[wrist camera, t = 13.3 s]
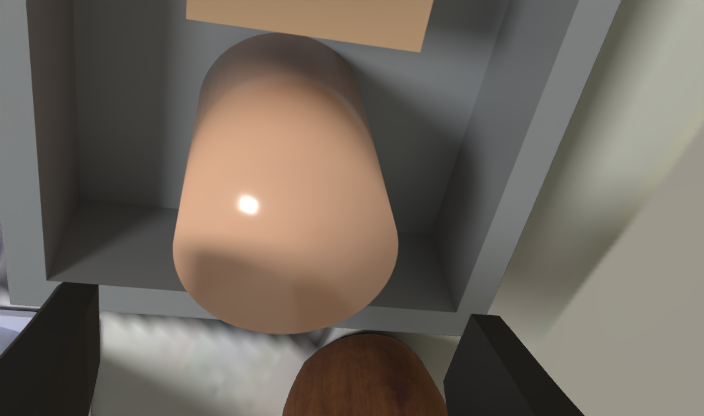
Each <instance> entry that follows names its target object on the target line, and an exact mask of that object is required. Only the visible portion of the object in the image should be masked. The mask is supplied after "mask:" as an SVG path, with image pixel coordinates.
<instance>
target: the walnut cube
mask: <svg viewBox="0 0 704 416" xmlns="http://www.w3.org/2000/svg"><path fill="white" fill-rule="evenodd" d="M432 4H433V0H187V7H186V19H189V20H196V21H203V22H210V23H217V24H224V25H231V26H238V27H245V28H252V29H259V30H266V31H273V32H280V33H287V34H294V35H301V36H308V37H315V38H322V39H329V40H336V41H343V42H350V43H357V44H364V45H371V46H378V47H385V48H392V49H399V50H406V51H413V52H420V51H421V47H422V43H423V39H424V35H425V31H426V27H427V24H428V20H429V16H430V12H431V8H432Z"/></svg>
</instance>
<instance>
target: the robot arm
mask: <svg viewBox="0 0 704 416" xmlns="http://www.w3.org/2000/svg"><path fill="white" fill-rule="evenodd" d="M99 364H100V336H99V284H86V283H73V282H62V283H61V284H59V285H58V286H57V287H56V288H55V289H54V291H53V292H52V294H51V295H50V296H49V298H48V299H47V300H46V301H45V303H44V304H43V305H42V307H41V308H40V309H39V310H38V312H28V311H14V310H0V416H91V402H92V397H93V393H94V388H95V383H96V378H97V373H98V369H99ZM443 382H444V390H445V397H446V405H447V412H448V416H584V415H583V413H582V412H581V411H580V410H579V409H578V408H577V407H576V406H575V405H574V404H573V402H572V401H571V400H570V399H569V398H568V397H567V396H566V395H565V393H564V392H563V391H562V390H561V389H560V388H559V387H558V385H557V384H556V383H555V382H554V381H553V379H552V378H551V377H550V376H549V375H548V374H547V372H546V371H545V370H544V369H543V368H542V366H541V365H540V364H539V363H538V362H537V360H536V359H535V358H534V357H533V356H532V354H531V353H530V352H529V351H528V350H527V348H526V347H525V346H524V345H523V343H522V342H521V341H520V340H519V339H518V337H517V336H516V335H515V334H514V333H513V331H512V330H511V329H510V328H509V327H508V325H507V324H506V323H505V322H504V321H503V320H502V318H501V317H500V316H495V315H483V314H471V315H470V318H469V320H468V322H467V325H466V327H465V330H464V332H463V335H462V337H461V339H460V342H459V344H458V347H457V349H456V352H455V354H454V357H453V359H452V361H451V364H450V366H449V369H448V371H447V374H446V376H445V379H444V381H443Z"/></svg>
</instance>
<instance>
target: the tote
mask: <svg viewBox="0 0 704 416" xmlns="http://www.w3.org/2000/svg"><path fill="white" fill-rule="evenodd" d="M620 2H621V0H433V4H432V8H431V12H430V16H429V20H428V24H427V27H426V31H425V35H424V39H423V43H422V47H421V51H420V52H413V51H406V50H399V49H392V48H385V47H378V46H371V45H364V44H357V43H350V42H343V41H336V40H329V39H322V38H315V37H309V38H312V39H315V40H317V41H319V42H321V43H323V44H325V45H326V46H328V47H329V48H331V49H332V50H333V51H335V52H336V53H337V54H338V55H339V56H340V57H341V58H342V59H343V60H344V61H345V62H346V64H347V65H348V66H349V67H350V69H351V71H352V72H353V74H354V76H355V78H356V80H357V83H358V85H359V89H360V93H361V96H362V100H363V104H364V108H365V112H366V115H367V119H368V123H369V127H370V131H371V134H372V138H373V142H374V146H375V150H376V153H377V157H378V161H379V165H380V169H381V172H382V176H383V180H384V184H385V188H386V191H387V195H388V199H389V203H390V207H391V210H392V214H393V218H394V222H395V225H396V229H397V235H398V255H397V259H396V263H395V267H394V269H393V272H392V274H391V276H390V278H389V280H388V282H387V283H386V285H385V286H384V288H383V289H382V290H381V292H380V293H379V294H378V295H377V296H376V297H375V298H374V299H373V300H372V301H371V302H370V303H369V304H368V305H367V306H365V307H364V308H363V309H362V310H360V311H359V312H357V313H356V314H354V315H352V316H351V317H349V318H347V319H345V320H343V321H341V322H339V323H337V324H334V325H331V326H329V327H335V328H349V329H363V330H378V331H392V332H406V333H420V334H434V335H448V336H462V335H463V332H464V330H465V327H466V325H467V322H468V320H469V318H470V315H471V314H483V315H487V313H488V310H489V308H490V306H491V303H492V301H493V299H494V296H495V294H496V292H497V289H498V287H499V285H500V282H501V280H502V278H503V275H504V273H505V271H506V268H507V266H508V264H509V261H510V259H511V257H512V254H513V252H514V250H515V247H516V245H517V243H518V240H519V238H520V236H521V233H522V231H523V229H524V226H525V224H526V222H527V219H528V217H529V215H530V212H531V210H532V208H533V205H534V203H535V201H536V198H537V196H538V194H539V191H540V189H541V187H542V184H543V182H544V180H545V177H546V175H547V172H548V170H549V168H550V165H551V163H552V161H553V158H554V156H555V154H556V151H557V149H558V147H559V144H560V142H561V140H562V137H563V135H564V133H565V130H566V128H567V126H568V123H569V121H570V119H571V116H572V114H573V112H574V109H575V107H576V105H577V102H578V100H579V98H580V95H581V93H582V91H583V88H584V86H585V84H586V81H587V79H588V77H589V74H590V72H591V70H592V67H593V65H594V63H595V60H596V58H597V56H598V53H599V51H600V49H601V46H602V44H603V42H604V39H605V37H606V35H607V32H608V30H609V28H610V25H611V23H612V21H613V18H614V16H615V14H616V11H617V9H618V7H619V4H620ZM186 7H187V0H0V218H1V227H2V236H3V244H4V253H5V262H6V270H7V279H8V287H9V296H10V304H11V305H25V306H39V307H42V305H43V304H44V303H45V301H46V300H47V299H48V298H49V296H50V295H51V294H52V292H53V291H54V289H55V288H56V287H57V286H58V285H59V284H61V283H62V282H73V283H86V284H99V311H109V312H124V313H138V314H152V315H166V316H180V317H194V318H208V319H218V318H217V317H215V316H213V315H212V314H210V313H209V312H207V311H206V310H205V309H203V308H202V307H201V306H200V305H199V304H198V303H197V302H196V301H195V300H194V299H193V298H192V297H191V296H190V295H189V293H188V292H187V291H186V289H185V288H184V286H183V284H182V283H181V281H180V279H179V277H178V274H177V271H176V268H175V264H174V259H173V241H174V235H175V229H176V223H177V218H178V212H179V206H180V201H181V195H182V190H183V184H184V178H185V173H186V167H187V162H188V156H189V150H190V145H191V139H192V134H193V128H194V122H195V117H196V111H197V106H198V100H199V94H200V89H201V86H202V83H203V80H204V78H205V76H206V74H207V72H208V70H209V69H210V67H211V66H212V64H213V63H214V62H215V61H216V60H217V59H218V58H219V56H220V55H221V54H223V53H224V52H225V51H226V50H228V49H229V48H230V47H232V46H233V45H235V44H237V43H238V42H241V41H243V40H245V39H247V38H250V37H253V36H257V35H261V34H267V33H280V32H273V31H266V30H259V29H252V28H245V27H238V26H231V25H224V24H217V23H210V22H203V21H196V20H189V19H186ZM306 37H308V36H306Z"/></svg>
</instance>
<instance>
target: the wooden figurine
mask: <svg viewBox="0 0 704 416" xmlns="http://www.w3.org/2000/svg"><path fill="white" fill-rule="evenodd" d="M282 416H448V412H447V406H446V404H445V402H444V400H443V398H442V396H441V394H440V392H439V390H438V388H437V386H436V385H435V383H434V381H433V380H432V378H431V376H430V375H429V373H428V371H427V370H426V368H425V366H424V365H423V363H422V361H421V360H420V358H419V357H418V356H417V355H416V354H415V353H414V352H413V351H412V350H411V349H410V348H409V347H408V346H406V345H405V344H403V343H401V342H400V341H398V340H396V339H395V338H392V337H388V336H382V335H377V334H361V335H353V336H349V337H345V338H341V339H337V340H335V341H333V342H332V343H330V344H328V345H326V346H325V347H323V348H321V349H320V350H318V351H317V352H316V353H315V354H313V355H312V356H311V357H310V358H309V359H308V360H306V361H305V362H304V364H303V366H302V368H301V369H300V371H299V373H298V375H297V377H296V379H295V381H294V383H293V385H292V387H291V390H290V392H289V395H288V398H287V401H286V404H285V407H284V410H283V415H282Z"/></svg>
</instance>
